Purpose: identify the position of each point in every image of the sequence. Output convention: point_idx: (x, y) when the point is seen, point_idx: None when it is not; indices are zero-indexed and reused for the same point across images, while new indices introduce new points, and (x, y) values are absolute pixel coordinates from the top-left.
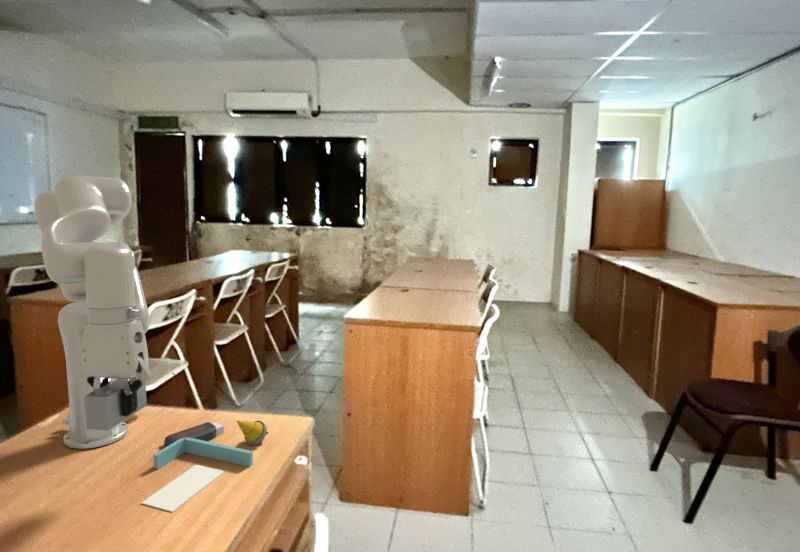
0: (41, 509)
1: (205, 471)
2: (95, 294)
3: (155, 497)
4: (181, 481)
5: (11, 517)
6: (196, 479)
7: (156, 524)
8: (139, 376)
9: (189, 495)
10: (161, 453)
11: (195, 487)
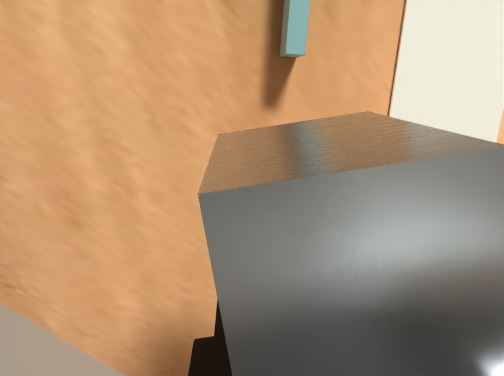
0: (144, 315)
1: (464, 24)
2: None
3: None
4: (419, 102)
5: (108, 356)
6: (460, 77)
7: None
8: (444, 191)
9: None
10: (306, 33)
11: (479, 117)
